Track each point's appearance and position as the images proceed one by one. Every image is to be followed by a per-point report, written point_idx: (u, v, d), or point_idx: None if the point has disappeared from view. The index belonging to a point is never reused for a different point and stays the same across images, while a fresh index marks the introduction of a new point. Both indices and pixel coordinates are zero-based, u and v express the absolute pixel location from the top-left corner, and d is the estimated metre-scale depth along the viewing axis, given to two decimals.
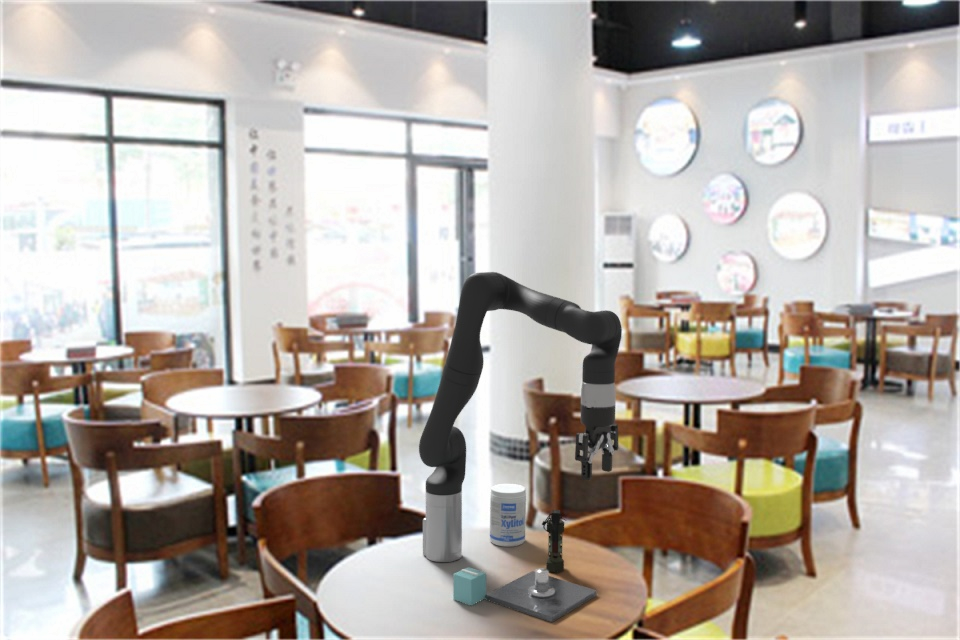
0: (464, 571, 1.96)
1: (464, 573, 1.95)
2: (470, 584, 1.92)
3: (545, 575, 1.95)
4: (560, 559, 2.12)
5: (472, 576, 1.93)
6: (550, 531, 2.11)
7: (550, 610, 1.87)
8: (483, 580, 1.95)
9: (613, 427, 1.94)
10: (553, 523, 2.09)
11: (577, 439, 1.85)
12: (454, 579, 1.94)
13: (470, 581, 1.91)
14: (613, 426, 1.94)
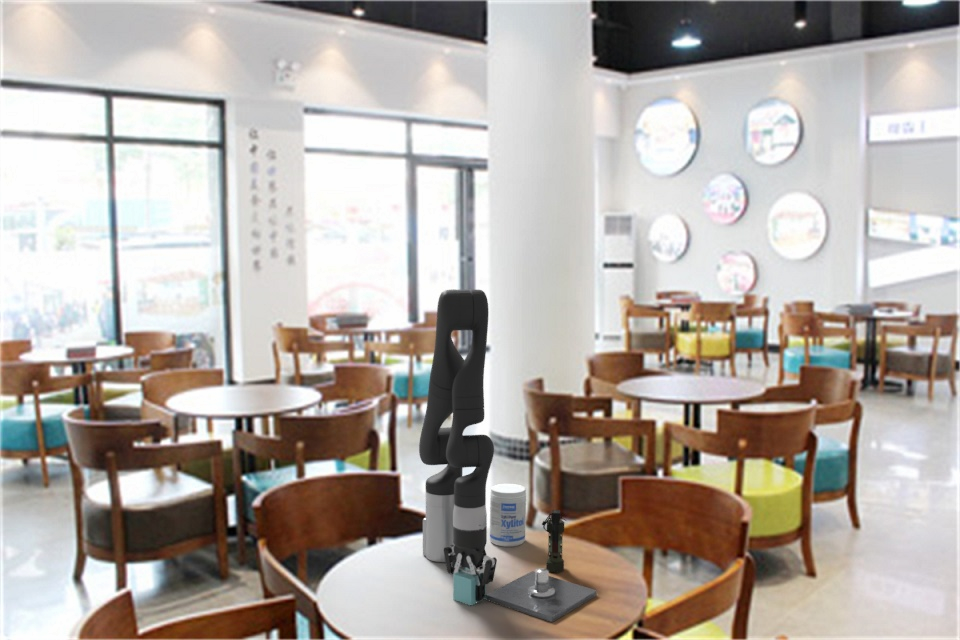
0: (464, 571, 1.95)
1: (464, 573, 1.95)
2: (470, 584, 1.92)
3: (545, 575, 1.95)
4: (560, 559, 2.12)
5: (472, 576, 1.93)
6: (550, 531, 2.11)
7: (550, 610, 1.87)
8: None
9: None
10: (553, 523, 2.09)
11: (490, 566, 1.90)
12: (454, 579, 1.94)
13: (470, 581, 1.91)
14: None
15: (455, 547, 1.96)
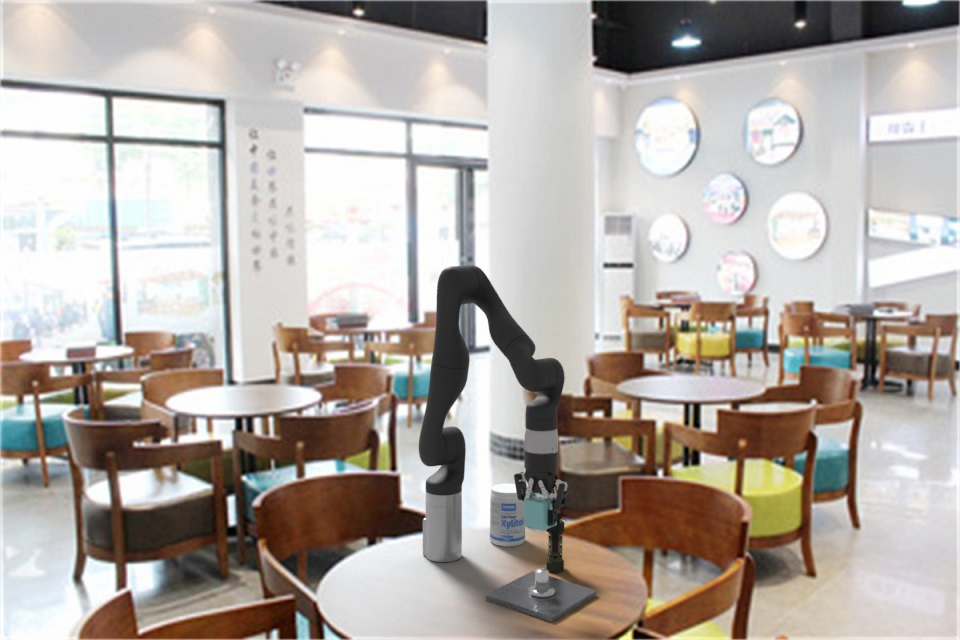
0: (535, 497, 1.94)
1: (535, 499, 1.94)
2: (542, 508, 1.90)
3: (545, 575, 1.95)
4: (560, 559, 2.12)
5: (544, 501, 1.92)
6: (550, 531, 2.11)
7: (550, 610, 1.87)
8: None
9: None
10: None
11: (563, 490, 1.89)
12: (525, 505, 1.93)
13: (542, 506, 1.90)
14: None
15: (526, 473, 1.95)
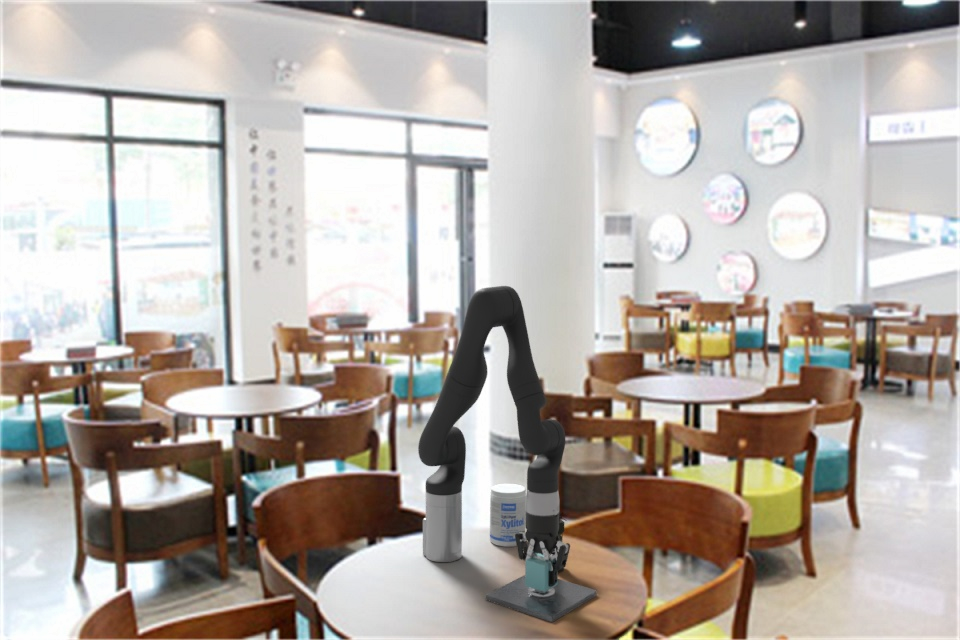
0: (536, 557, 1.96)
1: (536, 559, 1.95)
2: (543, 570, 1.92)
3: None
4: None
5: (545, 562, 1.94)
6: None
7: (550, 610, 1.87)
8: None
9: None
10: None
11: (564, 552, 1.90)
12: (526, 565, 1.95)
13: (543, 567, 1.92)
14: None
15: (527, 533, 1.96)
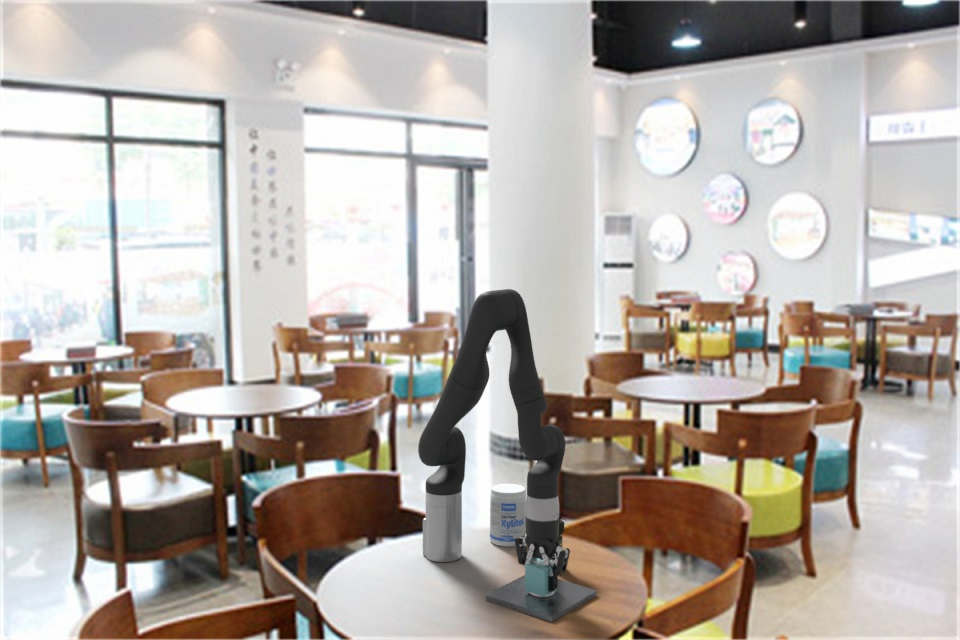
0: (535, 562, 1.96)
1: (536, 564, 1.96)
2: (543, 575, 1.92)
3: None
4: None
5: (544, 567, 1.94)
6: None
7: (550, 610, 1.87)
8: None
9: None
10: None
11: (564, 557, 1.91)
12: (526, 570, 1.95)
13: (543, 572, 1.92)
14: None
15: (527, 538, 1.96)
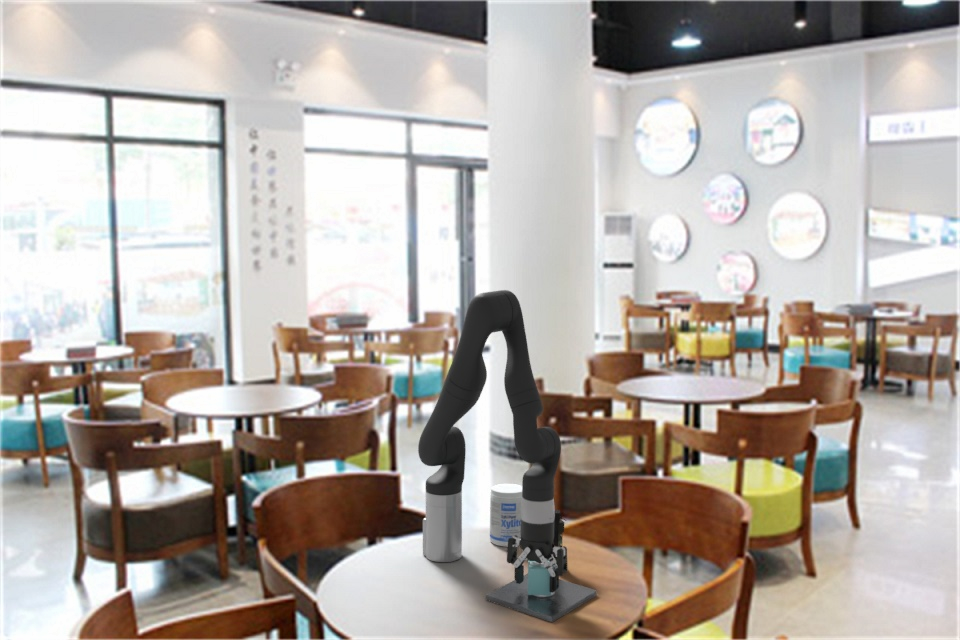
0: (533, 564, 1.95)
1: (535, 566, 1.95)
2: None
3: None
4: None
5: None
6: None
7: (550, 610, 1.87)
8: None
9: None
10: None
11: (562, 555, 1.90)
12: (529, 574, 1.93)
13: None
14: (516, 537, 1.98)
15: (522, 541, 1.95)
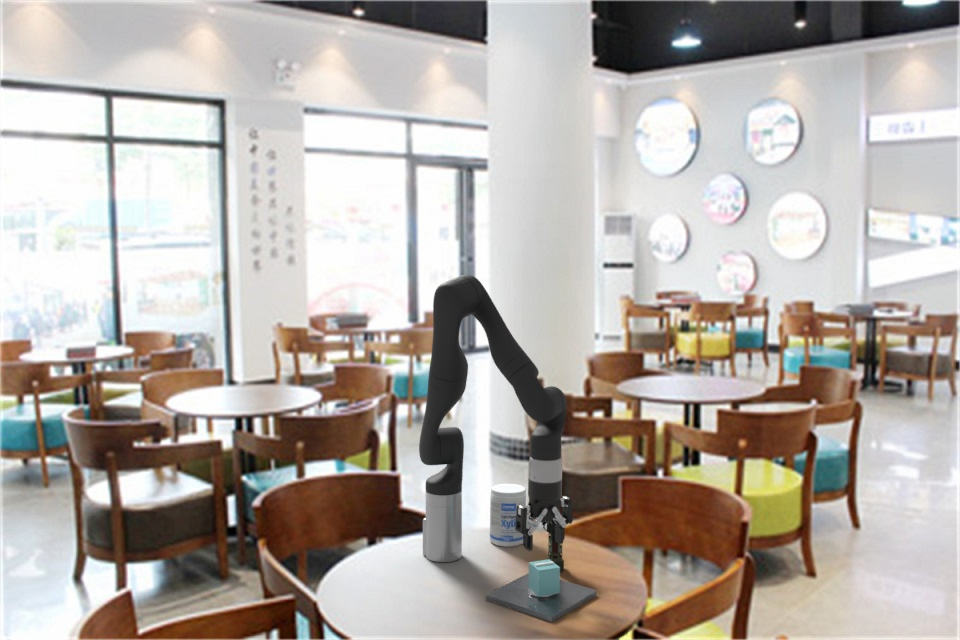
0: (539, 565, 1.95)
1: (542, 566, 1.94)
2: (558, 572, 1.94)
3: None
4: (560, 559, 2.12)
5: (552, 565, 1.95)
6: (550, 531, 2.11)
7: (550, 610, 1.87)
8: None
9: None
10: (553, 523, 2.09)
11: None
12: (539, 575, 1.92)
13: (559, 569, 1.94)
14: None
15: (536, 506, 1.92)
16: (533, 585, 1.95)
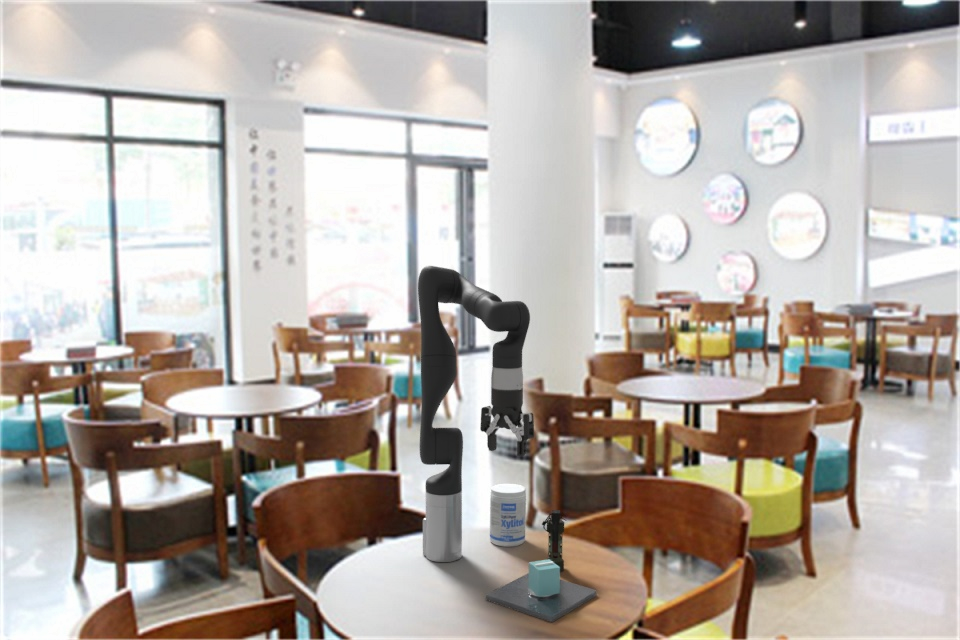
0: (539, 565, 1.95)
1: (542, 566, 1.94)
2: (558, 572, 1.94)
3: None
4: (560, 559, 2.12)
5: (552, 565, 1.95)
6: (550, 531, 2.11)
7: (550, 610, 1.87)
8: None
9: None
10: (553, 523, 2.09)
11: (528, 419, 2.00)
12: (539, 575, 1.92)
13: (559, 569, 1.94)
14: (490, 408, 2.09)
15: (493, 409, 2.06)
16: (533, 585, 1.95)
